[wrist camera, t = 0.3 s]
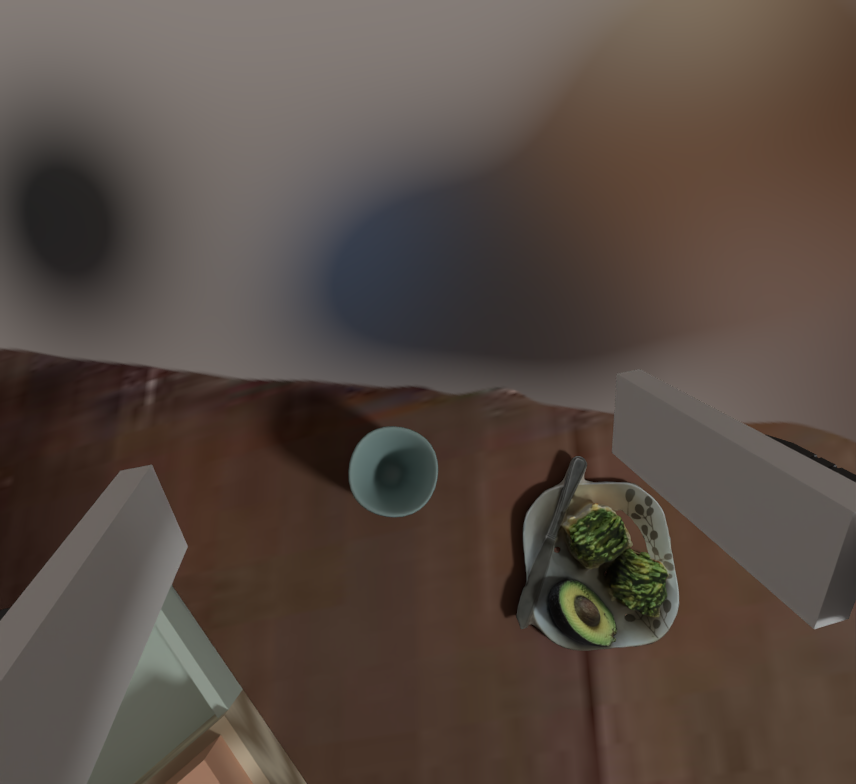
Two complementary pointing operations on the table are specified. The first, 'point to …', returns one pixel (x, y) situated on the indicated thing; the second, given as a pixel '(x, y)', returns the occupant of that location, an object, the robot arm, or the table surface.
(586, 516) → the salad plate
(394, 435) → the cup
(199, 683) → the tray
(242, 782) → the tile
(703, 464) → the robot arm
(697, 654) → the table surface
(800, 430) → the table surface
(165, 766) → the board
